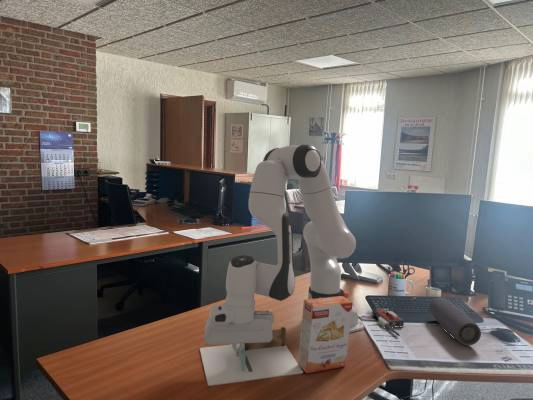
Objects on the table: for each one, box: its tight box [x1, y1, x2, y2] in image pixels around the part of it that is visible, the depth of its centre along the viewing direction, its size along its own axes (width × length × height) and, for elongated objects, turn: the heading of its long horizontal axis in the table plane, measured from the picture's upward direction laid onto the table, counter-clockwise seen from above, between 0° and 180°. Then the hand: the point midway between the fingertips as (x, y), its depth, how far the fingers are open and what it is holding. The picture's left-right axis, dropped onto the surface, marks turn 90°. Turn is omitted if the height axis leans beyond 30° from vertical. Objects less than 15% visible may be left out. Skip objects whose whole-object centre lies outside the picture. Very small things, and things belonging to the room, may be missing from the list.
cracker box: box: [297, 296, 353, 375], centre depth 116 cm, size 14×6×21 cm, turn 114°
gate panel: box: [240, 346, 246, 371], centre depth 118 cm, size 13×1×6 cm, turn 6°
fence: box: [245, 326, 287, 351], centre depth 127 cm, size 14×2×6 cm, turn 106°
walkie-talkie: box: [372, 307, 405, 337], centre depth 148 cm, size 9×4×20 cm
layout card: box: [199, 343, 304, 387], centre depth 119 cm, size 28×20×1 cm
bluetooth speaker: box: [428, 296, 482, 346], centre depth 143 cm, size 23×9×10 cm, turn 0°
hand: (237, 355), depth 115 cm, fingers closed
